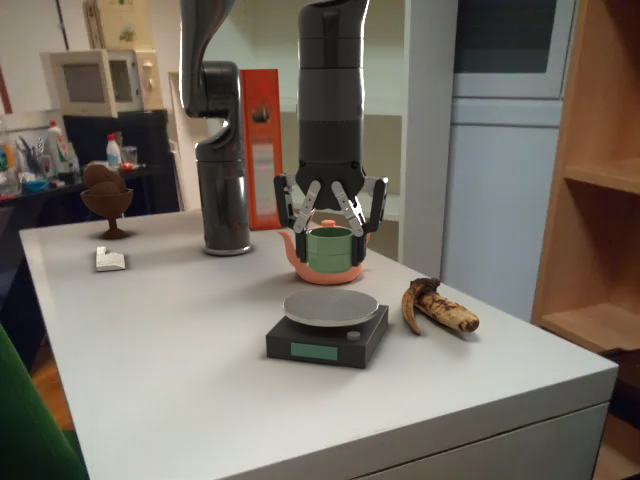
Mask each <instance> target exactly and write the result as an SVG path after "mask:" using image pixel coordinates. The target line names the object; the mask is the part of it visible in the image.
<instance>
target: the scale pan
mask: <svg viewBox="0 0 640 480" xmlns="http://www.w3.org/2000/svg"><path fill="white" fill-rule="evenodd" d="M378 305H379V302H378V300H377V299H376V298H375V297H373V296H371V295H370V294H368V293H364V292H361V291H357V290H352V289H344V288H319V289H318V288H317V289H310V290H306V291H302V292H297V293H295V294H292V295H290V296H289V297H287V298H286V299H285V300H284V302H283V303H282V312H283V314H284V316H285V315H286V316H287V317H288V318H290V319H291V320H293V321H296V322H299V323H302V324H307V325H312V326H322V327H339V326H349V325H355V324H359V323H362V322H365V321H368V320H370V319H372V318H373V317H374V316H376V314H377V313H378Z"/></svg>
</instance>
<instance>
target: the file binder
mask: <svg viewBox="0 0 640 480" xmlns="http://www.w3.org/2000/svg"><path fill="white" fill-rule="evenodd" d="M238 69H239V71H240V76H241V83H242V116H243V138H244V156H245V158H244V159H245V171H246V184H247V199H248V214H249V228H250V229H251V230H252V231H263V230H275V229H284V227H282V226H281V225H280V222H279V215H278V209H277V202H276V195H275V189H274V182H273V180H274V177H276V176H277V175H279V174H282V173H284V172H283V171H284V170H283V149H282V126H281V125H282V124H281V107H280V106H281V101H280V82H279V80H280V79H279V69H278V68H247V69H246V68H245V69H244V68H242V69H240V68H238Z"/></svg>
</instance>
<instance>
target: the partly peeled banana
mask: <svg viewBox="0 0 640 480" xmlns="http://www.w3.org/2000/svg"><path fill="white" fill-rule="evenodd" d="M440 286H441V279H439V278H437V277H431V278H429V277H417V278H415V279H414V280H410V282H409V287H408V288H407V289H406V290H405V292H404V293H403V294H402V297H401V312H402V316H403V318H404V321H405V323H406V324H407V326H408V327H409V329H410V330H411V331H413V332H414V333H415V334H416V335H418V336H421V335H422V333H421V330H420V328H419V326H418V323H417V321H416V317H415V313H414V307H415V308H417V309H419V310H420V312H422V313H424V314H425V315H426V316H429V317H431V318H432V319H433V320H435V321H437V322H438V323H440V324H442V325H445V326H446V327H448V328H451V329H454V330H457V331H459V332H461V333H469V334H470V333H473V332H475V331H476V330H478V328H479V326H480V319H479V317H478V316H477V315H476V314H475V313H474V312H472V311H471V310H470V309H468V308H466V307H465V306H463V305H461V304H459V303H457V302H454V301H451V300H449V299H448V298H446V297H444V296H442V295H441V294H440V293H439V292H438V288H439V287H440Z"/></svg>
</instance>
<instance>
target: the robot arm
mask: <svg viewBox="0 0 640 480" xmlns="http://www.w3.org/2000/svg"><path fill="white" fill-rule="evenodd" d="M236 1H237V0H178V4H179V19H180V23H179V24H180V50H179V51H180V52H179V53H180V54H179V91H180V92H179V94H180V101H181V106H182V109H183V111H184V113H185V114H186V116H187V117H189V118H190V119H193V120H224V121H223V125H222V127H221V128H220V129H219V130H218V131H217V132H216V133H214V134H213V135H211V136H209V137H207V138H204V139H202V140H199V141H198V142H197V143H196V144H195V146H194V154H195V163H196V171H197V172H196V173H197V181H198V191H199V199H200V209H201V220H202V228H203V240H204V252H206V253H207V254H210V255H213V256H237V255H242V254H246V253H248V252H250V251H251V250H252V242H251V231H250V226H249V214H248V199H247V184H246V171H245V159H244V158H245V156H244V138H243V116H242V83H241V76H240V71H239V69H240V68H239V67H238V65H237V64H236V63H235V62H234V61H233V60H204V57H205V54H206V51H207V48H208V46H209V44H210V42H211V41H212V39H213V37H214V36H215V35H216V33H217V32H218V31H219V29H220V28H221V27H222V25H223V24H224V22H225V21H226V19H227V18H228V17H229V15H230V13H231V12H232V10H233V8H234V6H235V4H236ZM369 4H370V0H315V1H311V2H308V3H306V4H304V5H303V6H302V7H301V8H300V10H299V12H298V16H297V51H298V52H297V57H298V58H297V60H298V61H297V62H298V75H297V76H298V77H297V89H296V104H295V105H296V106H295V107H296V108H295V111H296V115H297V151H298V152H297V154H298V155H297V156H298V158H297V159H298V167H297V170H296V172H295V173H287V172H283V173H282V174H279V175H277V176H276V177H274V180H273V182H274V189H275V195H276V202H277V209H278V215H279V222H280V225H281V226H282V227H283V228H287V229H290V230H292V231H293V232H294V236H295V238H294V239H295V240H294V242H295V244H294V246H295V250H296V256H297V258H300V262H301V263H306V241H305V232H307V231H308V228H309V225H310V222H312V221H311V220H312V219H313V216H314V215H315V213H316V212H317V211H325V210H330V211H331V210H332V211H335V212H342V213H343V215H344V218H345V219H346V220H347V222H348V223H349V226H350V227H351V228H350V229H352V230H353V232H354V234H355V235H354V236H353V237H352V266H353V267H358V266H359V265H360V263H361V262H364V261H365V259H366V257H367V245H366V240H367V234H368V233H370V234H371V233H376V232H377V231H378V230H379V229H380V228H381V227H382V225H383V221H384V215H385V209H386V202H387V197H388V190H389V184H390V181H389V178H388V177H387V176H385V175H384V176H380V177H376V176H369V175H367V174H366V171H365V169H364V165H363V163H364V161H363V160H364V130H365V129H364V127H365V126H364V124H365V121H364V120H365V84H364V83H365V82H364V81H365V80H364V69H363V67H364V39H365V37H364V36H365V35H364V33H365V32H364V31H365V21H366V17H367V12H368V8H369ZM296 185H297V187H298V188H299V189H300V191H301V192H302V194H303V196H304V200H303V202H302V204H301V207H300V208H299V211H298V215H297V216H295V209H294V203H293V194H292V193H293V192H294V191H295V186H296ZM364 186H365V188H366V189H367V194H368V196H369V197H371V198H372V200H371V207H370V212H369V219H368V220H366V219H365V217H364V214H363V211H362V210H363V209H362V207H361V204H360V203H359V200H358V197H357V196H358V195H359V193H360V192H361V191H362V189H363V188H364Z"/></svg>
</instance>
